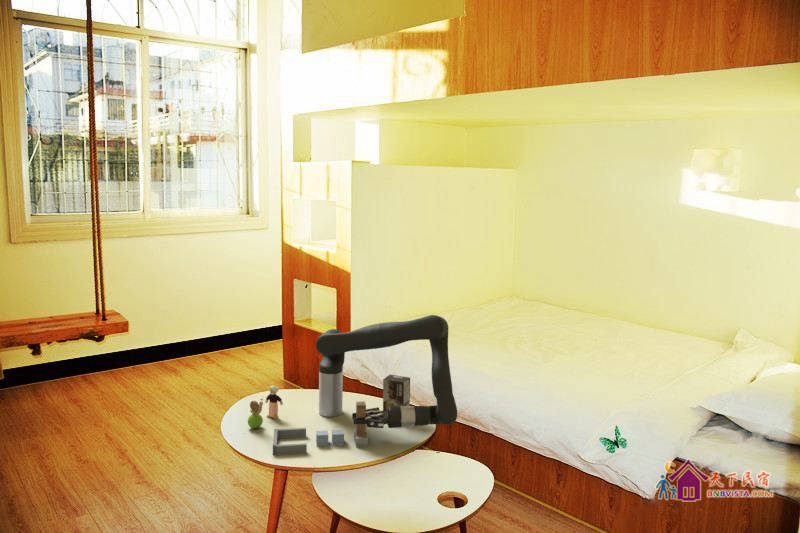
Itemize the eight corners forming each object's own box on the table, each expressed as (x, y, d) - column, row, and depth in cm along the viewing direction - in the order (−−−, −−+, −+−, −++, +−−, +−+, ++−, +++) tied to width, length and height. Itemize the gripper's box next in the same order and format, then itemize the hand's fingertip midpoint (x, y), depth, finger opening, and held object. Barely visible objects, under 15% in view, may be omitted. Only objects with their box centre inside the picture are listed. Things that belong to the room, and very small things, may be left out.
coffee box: (410, 417, 241) (411, 377, 239) (403, 422, 235) (404, 382, 233) (389, 412, 245) (390, 373, 243) (382, 418, 239) (382, 378, 237)
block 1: (316, 441, 217) (316, 430, 217) (327, 441, 218) (327, 430, 217) (316, 446, 213) (316, 435, 213) (328, 445, 214) (328, 434, 213)
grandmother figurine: (262, 418, 237) (262, 386, 235) (266, 414, 241) (265, 383, 239) (281, 419, 236) (281, 388, 234) (285, 416, 239) (284, 384, 238)
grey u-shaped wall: (274, 437, 220) (274, 429, 219) (306, 435, 222) (305, 427, 221) (272, 455, 206) (272, 446, 205) (306, 453, 208) (306, 444, 207)
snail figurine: (257, 432, 223) (256, 401, 222) (244, 428, 227) (244, 397, 225) (267, 427, 228) (267, 396, 226) (255, 423, 231) (254, 393, 230)
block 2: (331, 440, 218) (331, 430, 218) (343, 440, 219) (343, 429, 218) (332, 445, 214) (332, 434, 214) (344, 445, 215) (344, 434, 214)
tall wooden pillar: (353, 436, 222) (354, 399, 220) (364, 435, 223) (365, 398, 221) (356, 447, 213) (356, 408, 211) (367, 446, 214) (368, 408, 212)
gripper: (397, 399, 225) (351, 401, 223) (404, 414, 212) (354, 416, 209) (397, 418, 226) (350, 421, 224) (404, 434, 213) (354, 437, 210)
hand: (353, 418), depth 216 cm, fingers closed on tall wooden pillar, 4 cm apart
